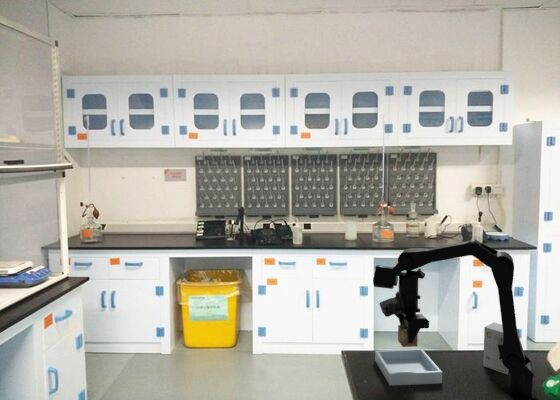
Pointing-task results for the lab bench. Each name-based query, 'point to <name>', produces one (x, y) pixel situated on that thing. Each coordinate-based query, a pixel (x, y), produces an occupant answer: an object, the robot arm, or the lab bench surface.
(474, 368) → the lab bench surface
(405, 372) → the sorting tray
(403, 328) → the walnut block
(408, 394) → the lab bench surface
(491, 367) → the small box
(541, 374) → the lab bench surface
